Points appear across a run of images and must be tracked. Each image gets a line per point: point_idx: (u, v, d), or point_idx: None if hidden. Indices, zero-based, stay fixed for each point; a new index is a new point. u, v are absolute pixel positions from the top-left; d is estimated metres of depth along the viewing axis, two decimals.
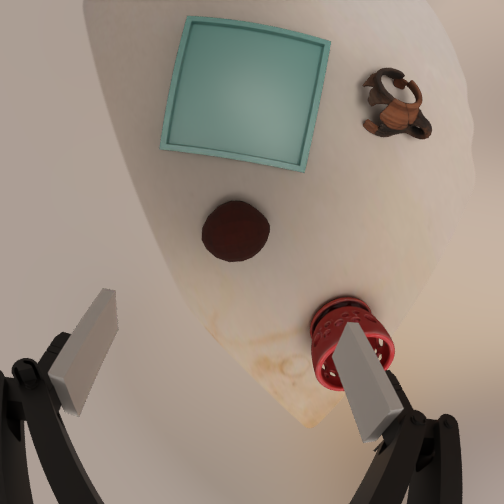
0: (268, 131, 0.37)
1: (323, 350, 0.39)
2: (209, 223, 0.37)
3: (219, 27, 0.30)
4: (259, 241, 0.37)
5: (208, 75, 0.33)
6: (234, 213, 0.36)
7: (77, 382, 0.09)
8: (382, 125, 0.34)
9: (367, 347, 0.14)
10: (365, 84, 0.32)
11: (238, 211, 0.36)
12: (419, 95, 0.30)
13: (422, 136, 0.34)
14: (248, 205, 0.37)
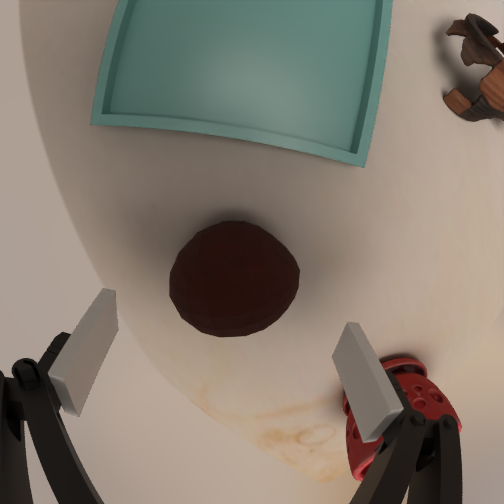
0: (296, 87, 0.18)
1: (370, 452, 0.21)
2: (180, 268, 0.18)
3: None
4: (281, 306, 0.18)
5: None
6: (229, 251, 0.17)
7: (77, 382, 0.09)
8: (481, 100, 0.15)
9: (367, 347, 0.14)
10: (451, 31, 0.13)
11: (237, 247, 0.17)
12: None
13: None
14: (258, 231, 0.19)
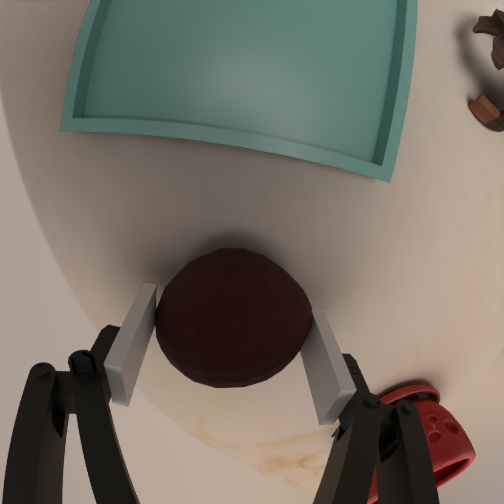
0: (309, 83, 0.14)
1: None
2: (166, 310, 0.14)
3: None
4: (290, 355, 0.14)
5: None
6: (226, 292, 0.13)
7: (129, 372, 0.11)
8: None
9: (326, 330, 0.15)
10: (478, 29, 0.10)
11: (236, 287, 0.13)
12: None
13: None
14: (263, 264, 0.15)
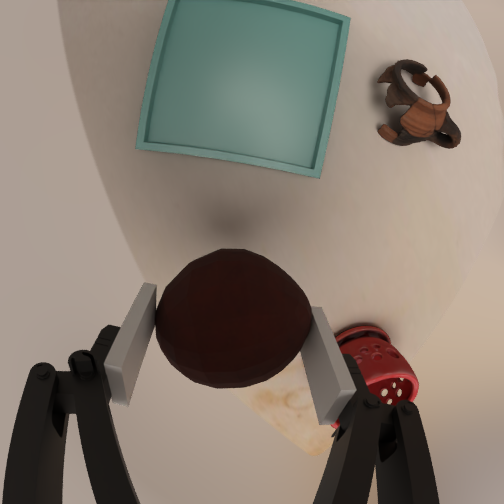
0: (273, 125, 0.29)
1: None
2: (166, 311, 0.14)
3: None
4: (290, 356, 0.14)
5: (197, 56, 0.25)
6: (226, 293, 0.13)
7: (129, 372, 0.11)
8: (403, 132, 0.26)
9: (326, 330, 0.15)
10: (380, 80, 0.24)
11: (236, 288, 0.13)
12: (446, 94, 0.22)
13: (450, 145, 0.26)
14: (262, 264, 0.15)
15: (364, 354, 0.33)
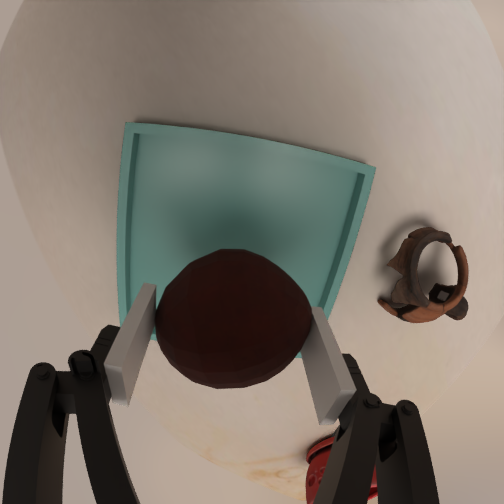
0: None
1: None
2: (166, 311, 0.14)
3: (184, 139, 0.21)
4: (290, 356, 0.14)
5: (172, 231, 0.24)
6: (226, 293, 0.13)
7: (129, 372, 0.11)
8: (403, 320, 0.25)
9: (326, 330, 0.15)
10: (391, 265, 0.23)
11: (236, 288, 0.13)
12: (465, 277, 0.21)
13: (453, 317, 0.25)
14: (263, 264, 0.15)
15: None
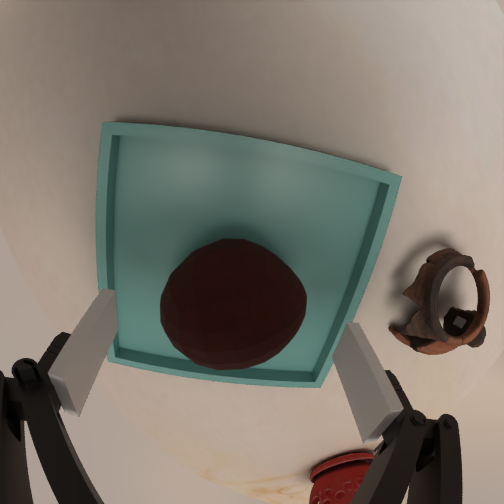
0: None
1: None
2: (171, 294, 0.15)
3: (172, 141, 0.17)
4: (286, 338, 0.15)
5: (161, 251, 0.20)
6: (228, 277, 0.14)
7: (77, 382, 0.09)
8: (417, 351, 0.21)
9: (367, 347, 0.14)
10: (407, 295, 0.20)
11: (237, 273, 0.14)
12: (486, 305, 0.18)
13: (469, 344, 0.21)
14: (261, 252, 0.16)
15: (347, 490, 0.28)
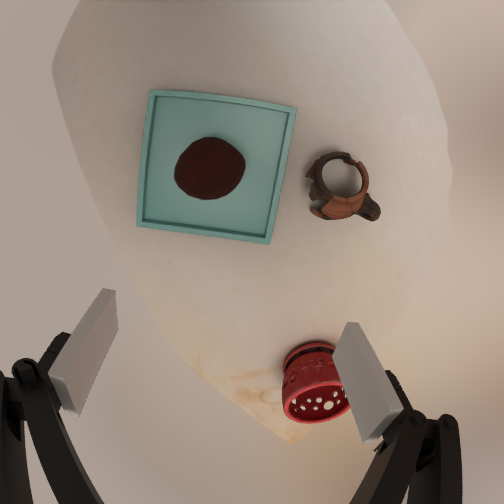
0: (235, 206, 0.41)
1: (289, 394, 0.44)
2: (181, 157, 0.33)
3: (183, 99, 0.35)
4: (233, 174, 0.33)
5: (175, 152, 0.38)
6: (206, 144, 0.32)
7: (77, 382, 0.09)
8: (325, 217, 0.39)
9: (367, 347, 0.14)
10: (307, 175, 0.37)
11: (210, 143, 0.32)
12: (365, 181, 0.35)
13: (370, 219, 0.39)
14: (222, 140, 0.34)
15: (310, 366, 0.46)
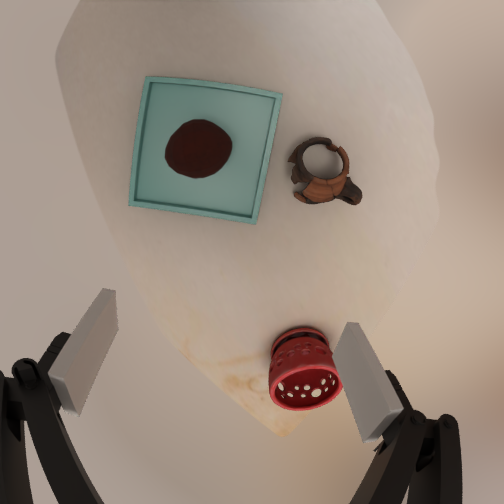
0: (223, 186, 0.42)
1: (274, 377, 0.45)
2: (171, 137, 0.34)
3: (176, 85, 0.36)
4: (219, 152, 0.34)
5: (167, 135, 0.39)
6: (194, 125, 0.33)
7: (77, 382, 0.09)
8: (307, 200, 0.40)
9: (367, 347, 0.14)
10: (289, 160, 0.39)
11: (198, 124, 0.33)
12: (345, 164, 0.36)
13: (352, 203, 0.40)
14: None
15: (296, 349, 0.47)
